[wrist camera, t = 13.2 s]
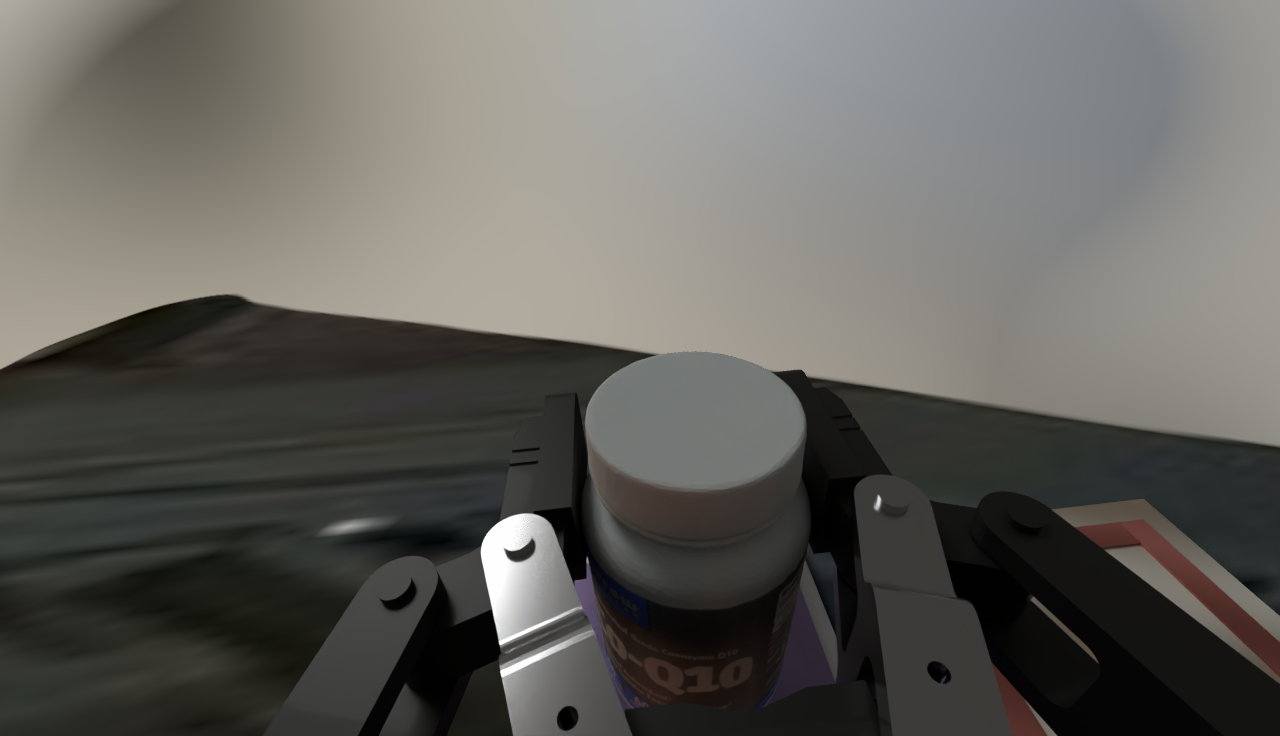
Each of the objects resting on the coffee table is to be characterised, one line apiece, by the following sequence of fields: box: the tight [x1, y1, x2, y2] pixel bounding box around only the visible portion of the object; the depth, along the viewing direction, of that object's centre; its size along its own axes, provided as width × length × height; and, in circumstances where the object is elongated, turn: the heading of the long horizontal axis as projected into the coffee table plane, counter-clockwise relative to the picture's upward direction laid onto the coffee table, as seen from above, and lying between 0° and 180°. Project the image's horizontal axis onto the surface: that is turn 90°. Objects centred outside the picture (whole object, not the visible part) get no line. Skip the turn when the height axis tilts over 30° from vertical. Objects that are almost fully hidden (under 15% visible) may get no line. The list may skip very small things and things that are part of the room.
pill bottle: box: [581, 352, 811, 712], centre depth 12 cm, size 5×5×8 cm
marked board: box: [991, 499, 1280, 736], centre depth 16 cm, size 12×12×1 cm
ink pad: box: [575, 557, 838, 714], centre depth 16 cm, size 12×10×2 cm
